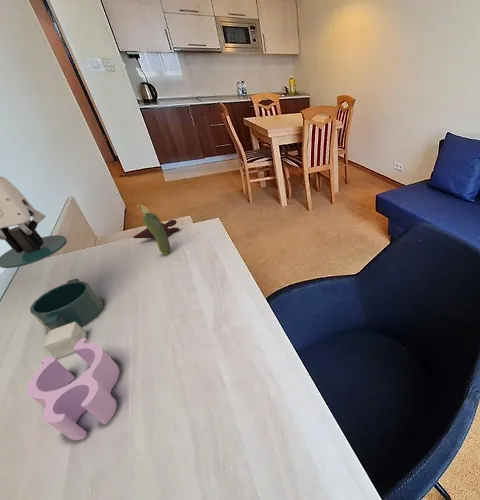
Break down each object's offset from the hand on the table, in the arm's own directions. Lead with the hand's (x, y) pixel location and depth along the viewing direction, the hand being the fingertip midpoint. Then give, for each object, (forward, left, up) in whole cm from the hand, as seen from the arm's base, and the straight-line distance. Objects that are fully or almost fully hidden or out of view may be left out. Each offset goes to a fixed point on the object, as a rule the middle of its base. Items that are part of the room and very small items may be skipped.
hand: (30, 247), depth 74 cm
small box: (+2, -16, -21) cm, 27 cm away
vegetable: (+22, +17, -21) cm, 35 cm away
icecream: (+18, +31, -21) cm, 42 cm away
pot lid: (0, 0, -1) cm, 1 cm away
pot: (0, -4, -21) cm, 21 cm away
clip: (+10, -34, -21) cm, 41 cm away
